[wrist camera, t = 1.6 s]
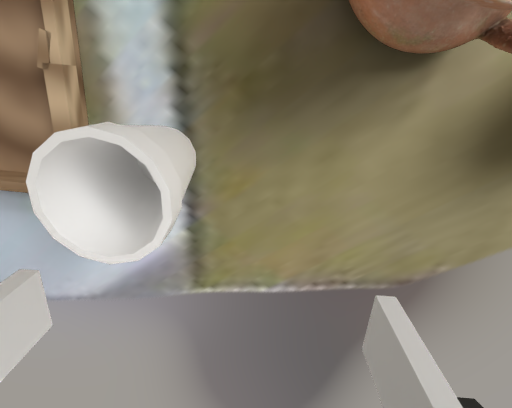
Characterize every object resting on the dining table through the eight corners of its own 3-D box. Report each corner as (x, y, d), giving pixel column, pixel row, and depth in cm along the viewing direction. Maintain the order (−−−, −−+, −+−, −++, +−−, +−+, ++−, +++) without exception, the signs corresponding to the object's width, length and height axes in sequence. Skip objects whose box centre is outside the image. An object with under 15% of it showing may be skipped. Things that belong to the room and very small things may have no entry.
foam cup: (141, 91, 29) (46, 96, 17) (225, 138, 30) (194, 173, 18) (111, 173, 32) (14, 226, 20) (188, 212, 33) (141, 284, 21)
